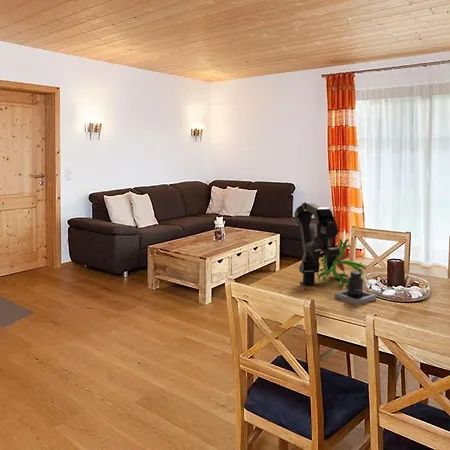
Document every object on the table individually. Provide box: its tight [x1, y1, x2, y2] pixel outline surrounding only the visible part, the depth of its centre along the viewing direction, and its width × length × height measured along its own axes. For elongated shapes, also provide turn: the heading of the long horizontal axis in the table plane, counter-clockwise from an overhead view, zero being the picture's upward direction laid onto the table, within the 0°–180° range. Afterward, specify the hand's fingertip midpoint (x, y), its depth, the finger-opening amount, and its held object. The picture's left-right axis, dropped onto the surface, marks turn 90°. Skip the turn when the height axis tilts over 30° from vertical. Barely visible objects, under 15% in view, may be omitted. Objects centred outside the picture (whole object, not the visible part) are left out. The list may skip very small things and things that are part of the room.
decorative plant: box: [316, 238, 367, 286], centre depth 232 cm, size 26×25×30 cm
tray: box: [334, 289, 377, 306], centre depth 206 cm, size 13×13×2 cm
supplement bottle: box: [346, 270, 364, 299], centre depth 205 cm, size 7×7×12 cm
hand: (322, 267), depth 211 cm, fingers open, 9 cm apart
